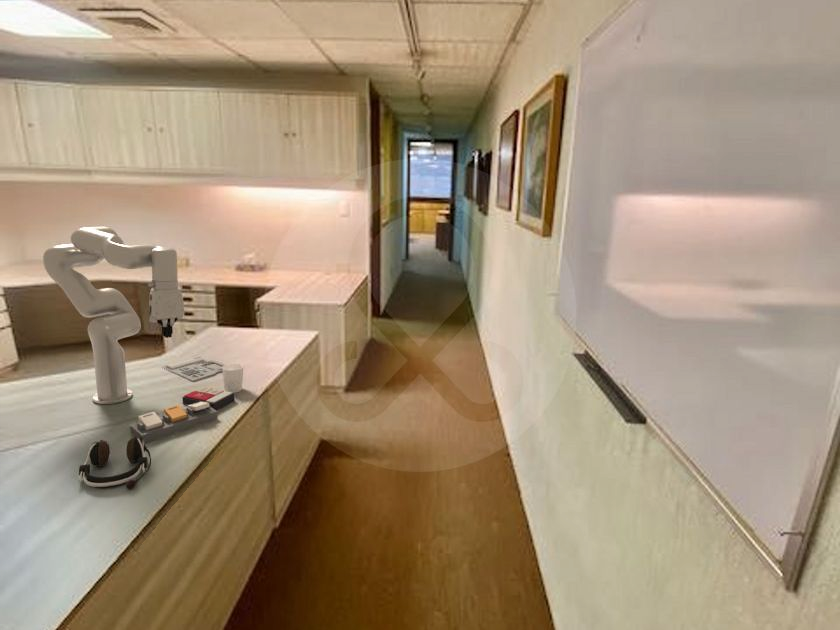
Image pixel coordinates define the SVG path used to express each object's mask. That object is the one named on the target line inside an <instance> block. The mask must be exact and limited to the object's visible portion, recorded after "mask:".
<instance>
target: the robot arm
mask: <svg viewBox="0 0 840 630" xmlns="http://www.w3.org/2000/svg"><path fill="white" fill-rule="evenodd" d="M70 242H71V243H69V244H68V243H67V244H60V245H59V244H58V245H55V246H51V247H49V248H47V249H46V250H45V251H44V253H43V256H42V259H43V260H42V262H43V266H44V268H45V271H46V273H47V275H49V277H50V278H51V279H52V280H53V281H54V282H55V283H56V284H57V285H58V286H59V287H60V289H62V291H63V292H64V294H65V295H66V297H67V298H68V299H69V301H70V302H71V303H72V305H73V306H74V308H75V309H76V310H77V312H78V313H79V314H80V316H82V317H83V318H89V319H90V318H94V319H93V320H91V321H90V322H89V324H88V326H87V334H88V337H89V339H90V340H89V341H90V342H91V347H92V355H93V361H94V362H93V364H94V371H95V372H94V373H95V383H96V393H95V394H94V395H92V401H93V403H95V404H99V405H111V404H112V405H113V404H119V403H122V402H125V401H127V400H129V399H131V398H132V397H133V391H132V390H131V389H129V388H128V384H127V383H128V381H127V380H128V379H127V369H126V368H127V367H126V357H125V350H124V348H123V347H122V345H121V344H120V343H119V342H118V340H121V339H124V338H128V337H131V336H134V335H136V334H138V333H139V332H140V331H141V328H142V324H141V323H142V322H141V319H140V317H139V316H138V314H137V312H136V311H135V309H134V308H133V307H132V305H131V304H130V302H129V301H128V300H127V298H126V297H125V295H123V293H121V291H119V290H118V289H116V288H112V287H105V288H100V289H97V288H95V286H94V285H93V284H92V283H91V282H90V280H89V279H88V278H87V277H86V276H85V275H84V274H83V273H81V272H79V271H77V270H75V269H74V268H84V267H92V266H95V265H98V264H99V263H101V262H102V261H104V260H105V261H106V262H107V263H109V265H112V266H113V267H117V268H121V269H125V270H126V269H127V270H137V269H144V268H151V276H152V277H151V278H152V279H151V282H148V283H147V285H148V287H150V290H149V291H150V292H149V297H148V298H149V299H148V316H149V320H148V321H149V322H151V323H155V324H159V326H161V327H160V328H161V329H160V330H161V335H162V337H164V338H166V339H169V338H172V337H173V333H174V332H173V329H174V328H173V326H174V325H175V323H176V322H177V321H178V320H181V319H183V318H184V315H185V305H184V298H183V294H182V289H181V288H180V287H179V285H178V284H179V282H178V281H179V280H178V279H179V278H178V277H179V276H178V253H177V251H176V249H174V248H171V247H163V246H160V245H158V244H151V243H150V244H136V245H135V244H134V245H124V240H123V239H122V238H121V237H120V236H119V235H118V234H117V232H116V231H115V230H114V229H112V228H110V227H108V226H90V227H81V228H77V229H76V230H74V231H73V232H72V233H71V235H70ZM95 317H96V318H95Z"/></svg>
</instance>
